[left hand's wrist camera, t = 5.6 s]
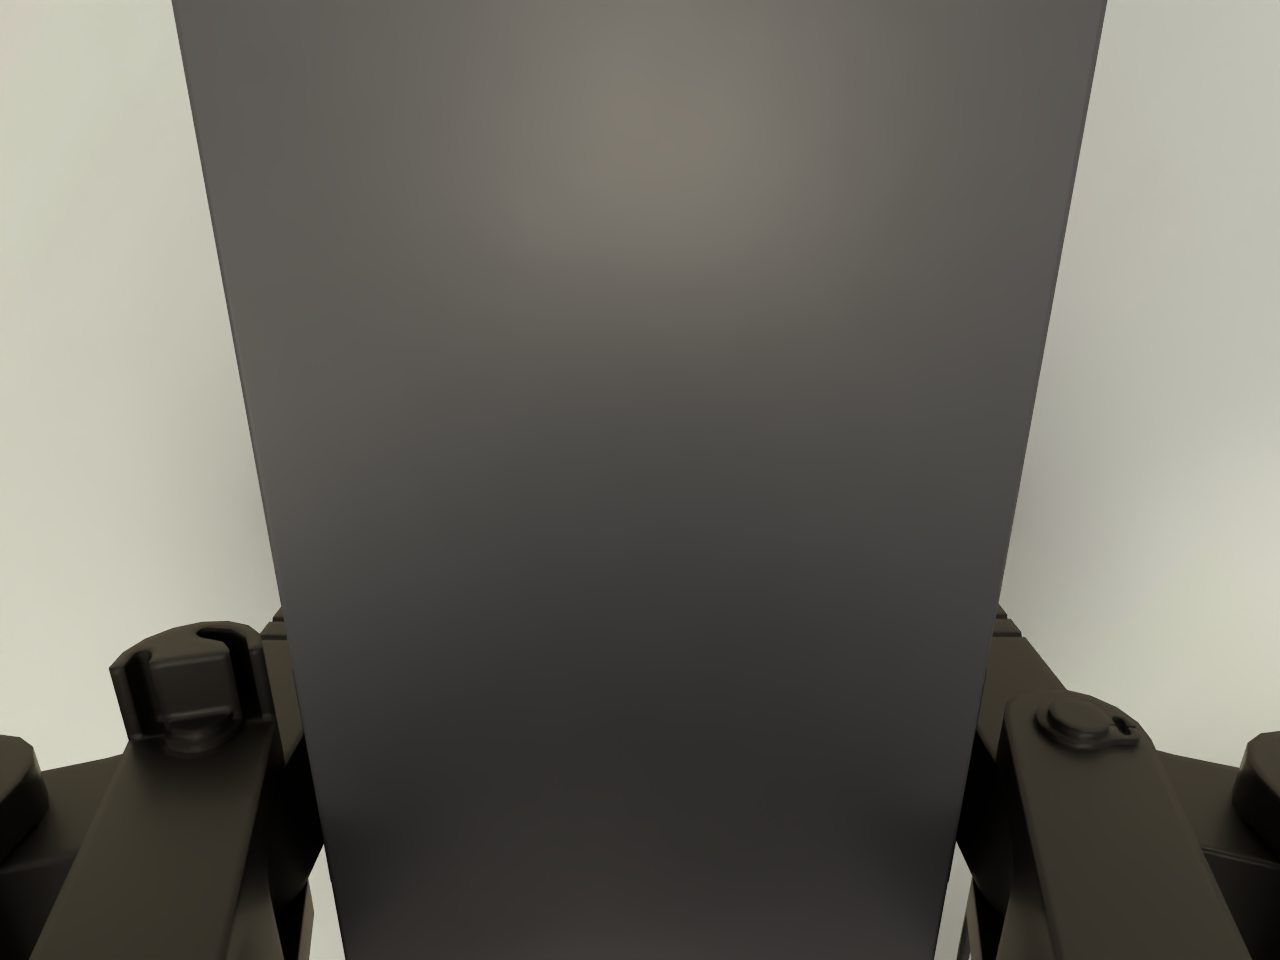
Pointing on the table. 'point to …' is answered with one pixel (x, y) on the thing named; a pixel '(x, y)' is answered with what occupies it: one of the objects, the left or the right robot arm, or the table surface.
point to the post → (639, 443)
